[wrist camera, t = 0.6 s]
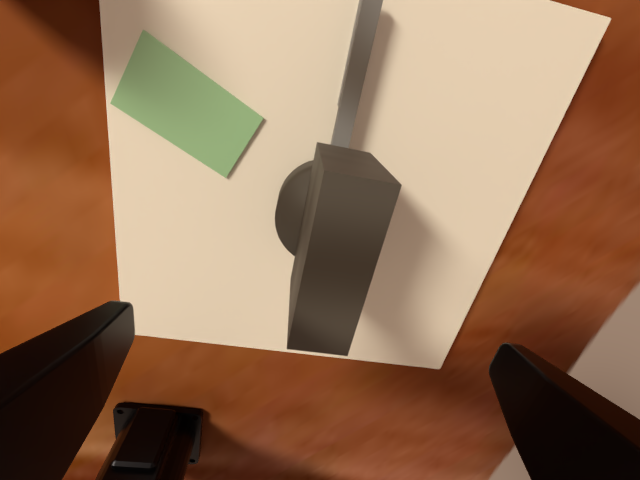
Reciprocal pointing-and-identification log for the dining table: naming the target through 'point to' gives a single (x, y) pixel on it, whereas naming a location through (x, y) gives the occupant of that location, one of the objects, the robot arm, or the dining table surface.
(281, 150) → the dial plate
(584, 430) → the robot arm
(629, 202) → the dining table surface
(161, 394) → the dining table surface
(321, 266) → the dark grey angled piece
